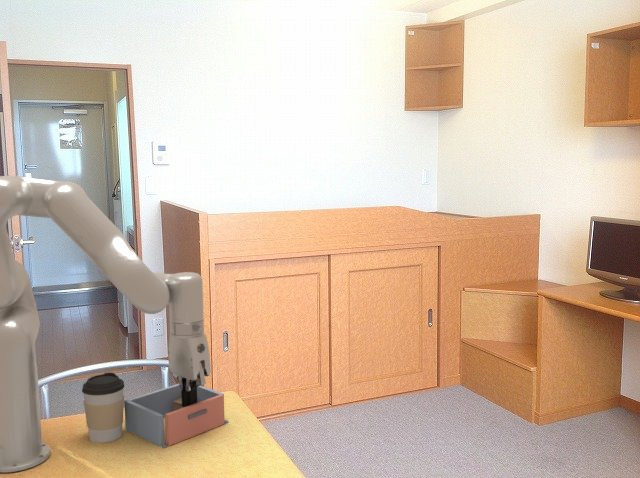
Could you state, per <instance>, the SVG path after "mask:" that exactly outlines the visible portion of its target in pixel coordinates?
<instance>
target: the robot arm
mask: <svg viewBox="0 0 640 478" xmlns="http://www.w3.org/2000/svg"><path fill="white" fill-rule="evenodd" d="M16 216H23V217H32V218H45V219H51V220H52V221H53V222H54V224H55V225H56V226H58V228H60V230H61V231H63V233H64V234H66V235H67V236H68V237H69V238H70V240H71V241H72V242H74V243H75V244H76V246H78V247H79V249H80V250H81V251H82V252H83V253H84V254H85V255H86V256H87V257H88V259H90V260H91V262H92V263H93V264H94V265H95V266H96V267H97V268H98V270H100V271H101V272H102V273H103V274H104V275H105V277H106V278H107V279H108V280H109V281H110V283H112V284H113V285H114V287H115V288H116V289H117V290H118V291H119V292H120V293H121V294H122V295H123V296H124V297H125V298H126V299H127V300H128V301H129V302H130V303H131V304H132V305H133V306H134V307H135V309H137V310H138V311H140V312H142V313H144V314H147V315H156V314H159V313H161V312H162V311H163V310H165V309H166V308H167V306H168V310H169V311H168V313H169V341H168V356H167V357H168V368H169V371H170V372H171V374H172V376H173V377H174V378H175V379H176V380H177V382H178V384H179V387H180V389H182V390H181V396H182V407H187V406H189V405H192V404H195V403H197V389H198V388H199V386H205V385H206V384H207V383H206V377H209V376H210V375H211V371H212V368H211V367H212V366H211V357H210V356H211V355H210V349H209V348H210V347H209V343H208V337H207V334H205V325H204V324H205V322H204V321H205V320H204V319H205V317H204V288H203V286H204V284H203V278H202V276H201V275H200V274H199V273H197V272H193V271H184V272H177V273H163V272H162V273H160V272H154V271H152V270H151V269H150V268H149V267H148V266H147V265H146V264H145V263H144V262H143V261H142V259H141V258H140V257H139V256H138V255H137V253H136V252H135V251H134V250H133V248H132V246H131V245H130V244H129V242H128V240H127V238H126V236H125V235H124V234H123V232H122V231H121V230H120V229H119V228H118V227H117V226H116V225H115V224H114V223H113V221H112V220H110V219H109V218H108V216H107V215H106V214H104V212H103V211H102V210H100V208H99V207H98V205H96V204H95V203H94V202H93V201H92V200H91V199H90V198H89V196H88V195H87V193H86V191H85V190H84V189H83V187H82V186H80V185H79V184H77V183H76V182H74V181H66V180H65V181H63V180H53V179H43V178H33V177H26V176H17V175H0V473H14V472H20V471H25V470H29V469H32V468H34V467H36V466H38V465H41V464H42V463H44V462H45V461H46V460H47V459H48V458H49V457H50V455H51V447H50V446H49V445H48V444H46V443H45V442H43V437H42V421H41V406H40V405H41V404H40V403H41V402H40V391H39V390H40V387H39V376H38V365H37V364H38V363H37V357H36V340H37V337H38V335H39V331H40V327H41V326H40V325H41V322H40V316H39V312H38V308H37V303H36V300H35V295H34V291H33V287H32V283H31V279H30V277H29V274H28V270H27V269H26V267H25V266H24V265H23V264H22V263H20V261H17V260H16V259H15V256H14V253H13V248H12V242H11V238H10V236H9V233H8V229H7V224H8V221H9V220H10V219H11V218H13V217H16Z"/></svg>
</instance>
